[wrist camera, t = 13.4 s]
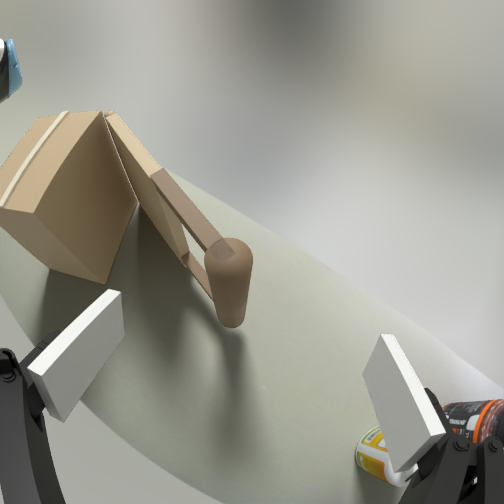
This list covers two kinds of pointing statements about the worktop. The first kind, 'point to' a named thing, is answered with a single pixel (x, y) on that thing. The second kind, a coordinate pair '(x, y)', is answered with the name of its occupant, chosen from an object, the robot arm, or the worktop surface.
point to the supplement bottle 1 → (379, 459)
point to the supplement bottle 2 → (477, 419)
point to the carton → (67, 195)
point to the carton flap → (184, 211)
